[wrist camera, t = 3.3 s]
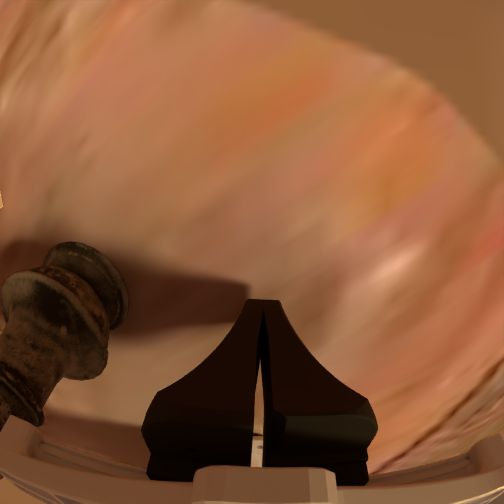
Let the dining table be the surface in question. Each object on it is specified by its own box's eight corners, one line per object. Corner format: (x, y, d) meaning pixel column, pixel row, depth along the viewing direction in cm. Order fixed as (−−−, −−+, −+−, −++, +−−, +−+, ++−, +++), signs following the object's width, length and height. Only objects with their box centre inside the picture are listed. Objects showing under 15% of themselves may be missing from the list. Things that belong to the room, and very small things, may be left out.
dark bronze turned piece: (58, 328, 16) (-41, 489, 5) (28, 236, 13) (-132, 391, 2) (145, 339, 15) (63, 555, 5) (122, 235, 13) (-61, 478, 2)
